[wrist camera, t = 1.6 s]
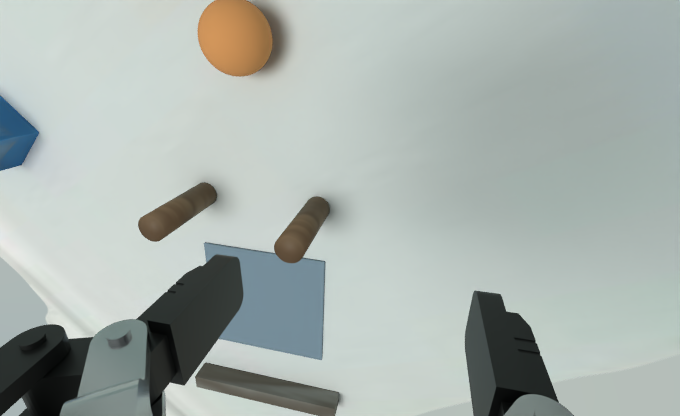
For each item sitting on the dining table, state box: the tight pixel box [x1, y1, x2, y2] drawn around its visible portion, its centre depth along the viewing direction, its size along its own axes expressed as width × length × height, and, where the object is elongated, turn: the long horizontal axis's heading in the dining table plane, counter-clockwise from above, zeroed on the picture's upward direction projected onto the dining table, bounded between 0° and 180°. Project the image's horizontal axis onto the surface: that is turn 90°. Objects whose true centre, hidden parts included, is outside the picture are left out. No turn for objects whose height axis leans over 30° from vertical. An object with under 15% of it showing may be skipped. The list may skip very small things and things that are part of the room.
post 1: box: [138, 183, 217, 242], centre depth 36 cm, size 3×3×9 cm
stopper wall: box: [195, 363, 339, 416], centre depth 49 cm, size 2×20×2 cm, turn 87°
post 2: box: [274, 197, 330, 263], centre depth 34 cm, size 3×3×9 cm
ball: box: [198, 0, 273, 76], centre depth 30 cm, size 6×6×6 cm
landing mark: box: [204, 243, 325, 360], centre depth 45 cm, size 15×15×1 cm
